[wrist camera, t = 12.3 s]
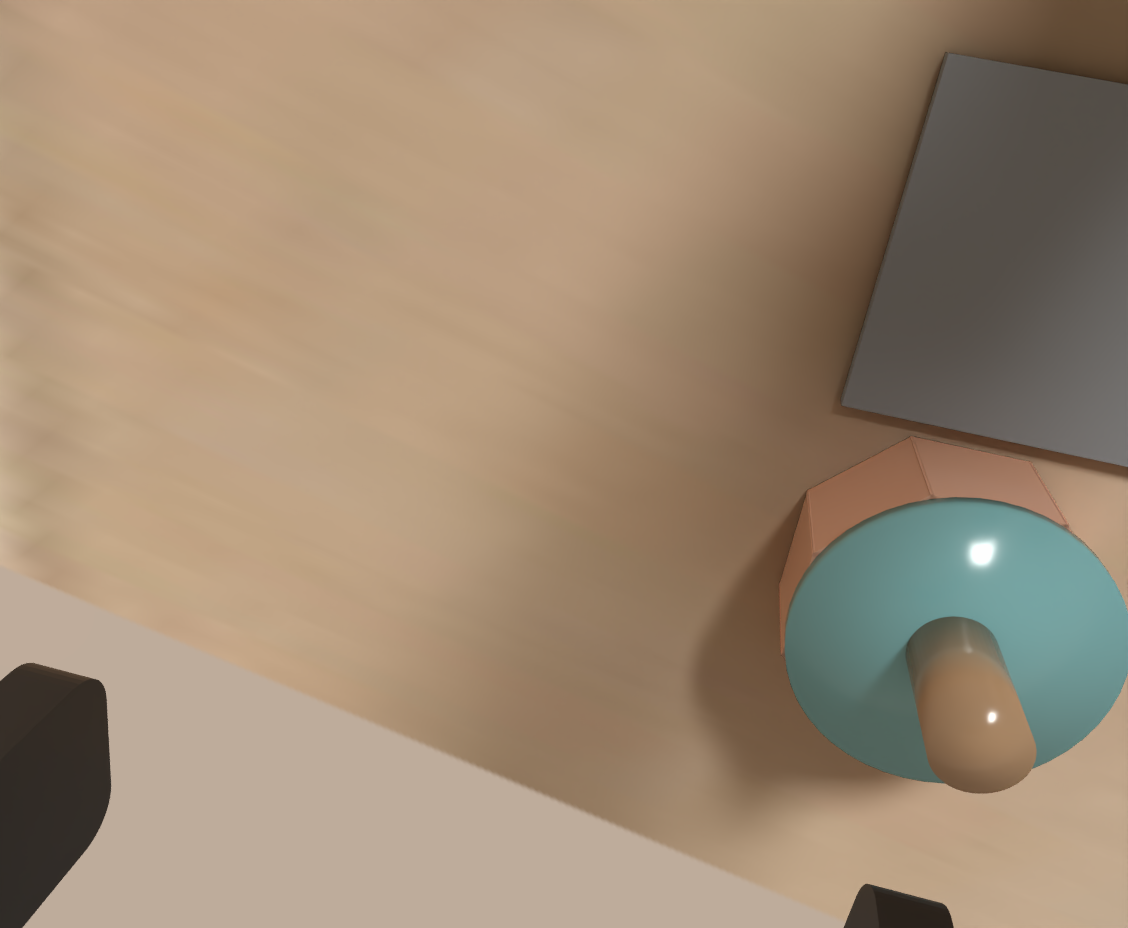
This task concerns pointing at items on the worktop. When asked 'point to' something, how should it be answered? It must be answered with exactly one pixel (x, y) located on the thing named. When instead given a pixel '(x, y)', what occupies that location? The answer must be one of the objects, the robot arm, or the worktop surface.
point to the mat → (1008, 266)
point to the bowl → (905, 496)
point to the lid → (957, 642)
